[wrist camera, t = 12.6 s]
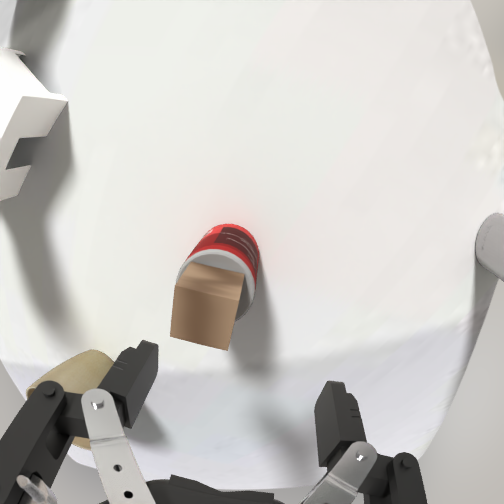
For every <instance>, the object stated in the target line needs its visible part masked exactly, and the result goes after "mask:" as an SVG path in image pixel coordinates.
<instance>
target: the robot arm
mask: <svg viewBox="0 0 504 504" xmlns="http://www.w3.org/2000/svg"><path fill="white" fill-rule="evenodd" d="M476 257H477V259H478V262H479V263H480V264H481V265H482V266H483V267H484V268H486V269H487V270H489V271H490V272H491V273H493V274H494V275H495V276H497V277H498V278H500V279H501V280H502V281H504V215H503V214H500V213H495V214H492V215H490V216H489V217H488V218H487V219H486V220H485V221H484V222H483V224H482V226H481V228H480V230H479V232H478V235H477V239H476ZM157 372H158V344H155V343H151V342H148V341H145V340H142V341H141V342H140V344H139V345H138V347H137V349H135V348H132V347H129V348H127V349H126V350H124V351H122V352H121V354H120V355H119V356H118V358H117V360H116V361H115V362H114V364H113V366H112V367H111V368H110V369H109V371H108V372H107V374H106V375H105V377H104V378H103V380H102V381H101V383H100V384H99V386H98V387H97V388H96V389H91V390H88V391H86V392H85V393H84V394H78V393H72V392H66V391H64V389H63V387H62V386H61V385H60V384H59V383H58V382H55V381H51V380H48V381H44V382H41V383H40V384H39V385H38V386H37V387H36V388H35V390H34V391H33V393H32V394H31V395H30V397H29V398H28V400H27V401H26V402H25V404H24V405H23V407H22V408H21V410H20V411H19V412H18V414H17V415H16V417H15V418H14V420H13V421H12V423H11V424H10V426H9V427H8V429H7V430H6V432H5V434H4V435H3V437H2V438H1V440H0V504H57V499H56V496H55V494H54V493H53V492H52V490H51V489H50V488H51V486H52V484H53V481H54V479H55V477H56V475H57V473H58V470H59V469H60V466H61V464H62V462H63V460H64V458H65V456H66V454H67V452H68V450H69V448H70V446H71V444H72V442H73V440H74V438H75V436H76V437H81V438H88V439H90V446H91V450H92V453H93V457H94V460H95V463H96V467H97V470H98V473H99V476H100V479H101V482H102V485H103V487H104V490H105V493H106V495H107V498H108V500H106V501H104V502H102V503H99V504H284V503H282V502H280V501H278V500H275V499H274V494H273V493H265V492H256V491H235V492H221V491H218V490H216V489H213V488H211V487H209V486H206V485H204V484H202V483H200V482H198V481H195V480H191V479H187V478H183V477H179V476H175V475H172V474H171V477H170V480H167V479H160V480H152V481H148V482H145V480H144V478H143V476H142V474H141V471H140V469H139V467H138V464H137V462H136V459H135V457H134V455H133V452H132V450H131V447H130V444H129V442H128V439H127V437H126V436H125V434H124V431H123V428H124V426H125V427H128V428H130V429H131V428H132V426H133V424H134V422H135V420H136V417H137V415H138V413H139V411H140V409H141V407H142V405H143V403H144V401H145V399H146V397H147V395H148V393H149V391H150V389H151V387H152V385H153V383H154V381H155V378H156V376H157ZM314 413H315V424H316V435H317V447H318V459H319V467H327V473H326V474H325V475H324V476H323V477H322V479H321V480H320V481H319V482H318V483H317V484H316V486H315V487H314V488H313V489H312V490H311V491H310V492H309V493H308V494H307V496H306V497H305V498H304V499H303V500H302V501H301V502H300V503H299V504H351V503H352V502H353V500H354V499H355V497H356V496H357V494H358V492H360V493H363V494H364V504H427V499H426V494H425V490H424V485H423V481H422V476H421V472H420V468H419V464H418V461H417V459H416V458H415V457H414V456H413V455H411V454H409V453H406V452H403V453H399V454H397V455H396V456H395V457H394V458H393V457H388V456H384V455H380V454H378V453H377V452H376V450H375V448H374V447H373V446H372V445H371V444H369V443H367V440H366V436H365V432H364V427H363V423H362V419H361V415H360V411H359V407H358V403H357V400H356V399H355V398H354V396H353V395H352V394H351V393H346V389H345V385H344V383H343V382H336V381H327V382H326V384H325V386H324V388H323V390H322V392H321V394H320V396H319V398H318V399H317V401H316V404H315V410H314Z"/></svg>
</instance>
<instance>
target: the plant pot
mask: <svg viewBox="0 0 504 504" xmlns="http://www.w3.org/2000/svg"><path fill="white" fill-rule="evenodd" d="M113 364H114V362H113V361H112V360H111V359H110V358H109V357H108V356H107V355H105V354H104V353H102V352H100V351H98V350H88V351H86V352H83V353H81V354H79V355H77V356H75V357H73V358H71V359H69V360H67V361H65V362H63V363H61V364H60V365H58V366H56V367H55V368H53V369H52V370H50V371H49V372H47V373H46V374H45V375H43V376H42V377H41V378H39V379H38V380H37V381H36V382H34V383H33V384H32V385H31V386H30V387H28V388H27V390H26V397H27V400H28V398H29V397H30V395H31V394H32V393H33V391H34V390H35V388H36V387H37V386H38V385H39V384H40V383H41V382H44V381H48V380H51V381H55V382H58V383H59V384H60V385H61V386H62V387H63V389H64V391H66V392H72V393H78V394H84V393H85V392H86V391H88V390H91V389H96V388H97V387H98V386H99V384H100V383H101V381H102V380H103V378H104V377H105V375H106V374H107V372H108V371H109V369H110V368H111V367H112V366H113ZM72 444H73V445H75V446H77V447H80V448H83V449H86V450H91V446H90V439H88V438H81V437H76V436H75V438H74V440H73V442H72ZM91 451H92V450H91Z"/></svg>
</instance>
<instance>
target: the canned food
mask: <svg viewBox="0 0 504 504" xmlns="http://www.w3.org/2000/svg"><path fill="white" fill-rule="evenodd" d="M258 259H259V251H258V246H257V243H256V241H255V239H254V237H253V236H252V235H251V234H250V233H249V232H248V231H247V230H246V229H244V228H243V227H240V226H238V225H234V224H222V225H218V226H216V227H214V228H212V229H211V230H209V231H208V232H207V233H206V234H205V235H204V237H203V238H202V239H201V241H200V242H199V243H198V244H197V246H196V247H195V248H194V250H193V251H192V252H191V254H190V255H189V256H188V258H187V259H186V261H185V262H184V263H183V265H182V267H181V268H180V271H179V273H178V276H177V280H176V283H177V282H178V280H179V279H180V277H181V276H182V274H183V273H184V271H185V270H186V268H187V267H188V265H189V264H190V262H196V263H200V264H204V265H208V266H213V267H217V268H221V269H225V270H230V271H234V272H239V273H243V274H245V275H244V280H243V284H242V289H241V294H240V299H239V304H238V308H237V312H236V317H235V321H237V320H239V319H240V318H241V317H242V316H244V315H245V314H246V312H247V311H248V310H249V308H250V306H251V304H252V301H253V298H254V295H255V289H256V279H257V269H258ZM235 321H234V322H235Z"/></svg>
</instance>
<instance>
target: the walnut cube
mask: <svg viewBox="0 0 504 504" xmlns="http://www.w3.org/2000/svg"><path fill="white" fill-rule="evenodd" d="M244 275H245V274H243V273H239V272H234V271H230V270H225V269H221V268H217V267H213V266H208V265H204V264H200V263H196V262H190V264H189V265H188V267H187V268H186V270H185V271H184V273H183V274H182V276H181V277H180V279H179V280H178V282H177V283H176V285H175V290H174V299H173V309H172V320H171V331H170V337H174V338H178V339H181V340H185V341H189V342H193V343H197V344H201V345H205V346H209V347H213V348H218V349H222V350H226V351H228V347H229V343H230V338H231V334H232V330H233V325H234V321H235V317H236V312H237V308H238V304H239V299H240V294H241V289H242V284H243V280H244Z"/></svg>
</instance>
